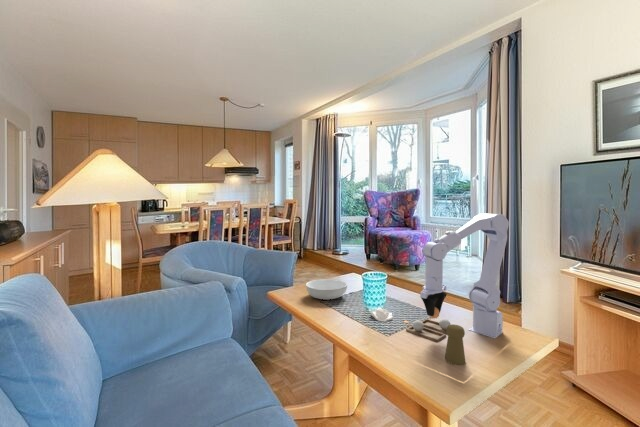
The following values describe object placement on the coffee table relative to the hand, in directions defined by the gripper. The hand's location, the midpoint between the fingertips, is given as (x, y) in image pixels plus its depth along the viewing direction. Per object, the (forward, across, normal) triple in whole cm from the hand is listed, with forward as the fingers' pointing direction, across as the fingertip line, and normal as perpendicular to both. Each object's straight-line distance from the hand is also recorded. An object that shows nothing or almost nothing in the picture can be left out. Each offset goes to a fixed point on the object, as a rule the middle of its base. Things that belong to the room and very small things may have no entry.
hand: (433, 313), depth 115 cm
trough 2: (+9, -8, -3) cm, 12 cm away
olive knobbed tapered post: (+9, +11, +13) cm, 19 cm away
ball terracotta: (+2, 0, 0) cm, 2 cm away
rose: (+9, -1, -24) cm, 26 cm away
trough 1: (+9, 0, -3) cm, 9 cm away
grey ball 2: (+8, -8, 0) cm, 12 cm away
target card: (+9, -4, -12) cm, 15 cm away
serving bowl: (+9, -3, -60) cm, 61 cm away
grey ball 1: (+8, 0, -6) cm, 10 cm away
